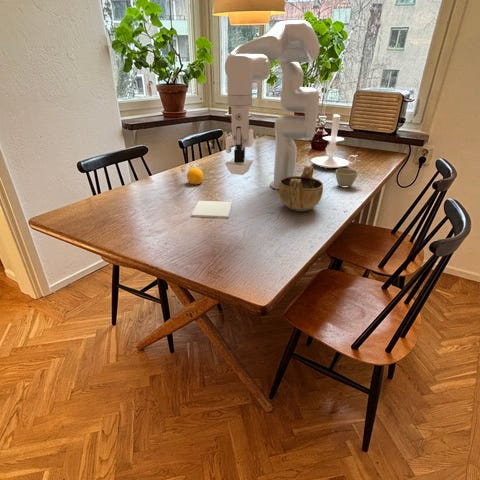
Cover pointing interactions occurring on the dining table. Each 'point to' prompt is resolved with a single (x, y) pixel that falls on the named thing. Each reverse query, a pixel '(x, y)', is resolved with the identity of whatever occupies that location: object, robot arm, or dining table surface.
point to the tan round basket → (301, 191)
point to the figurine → (231, 165)
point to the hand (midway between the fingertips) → (239, 160)
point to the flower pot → (346, 176)
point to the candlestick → (333, 149)
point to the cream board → (212, 209)
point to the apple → (195, 176)
